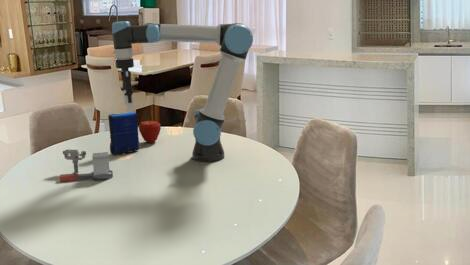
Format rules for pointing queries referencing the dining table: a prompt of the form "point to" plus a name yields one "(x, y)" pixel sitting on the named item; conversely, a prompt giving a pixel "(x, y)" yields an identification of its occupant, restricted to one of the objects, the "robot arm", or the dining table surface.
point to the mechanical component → (74, 157)
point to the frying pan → (84, 177)
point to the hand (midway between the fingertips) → (129, 107)
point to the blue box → (123, 133)
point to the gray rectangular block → (101, 163)
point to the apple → (149, 130)
